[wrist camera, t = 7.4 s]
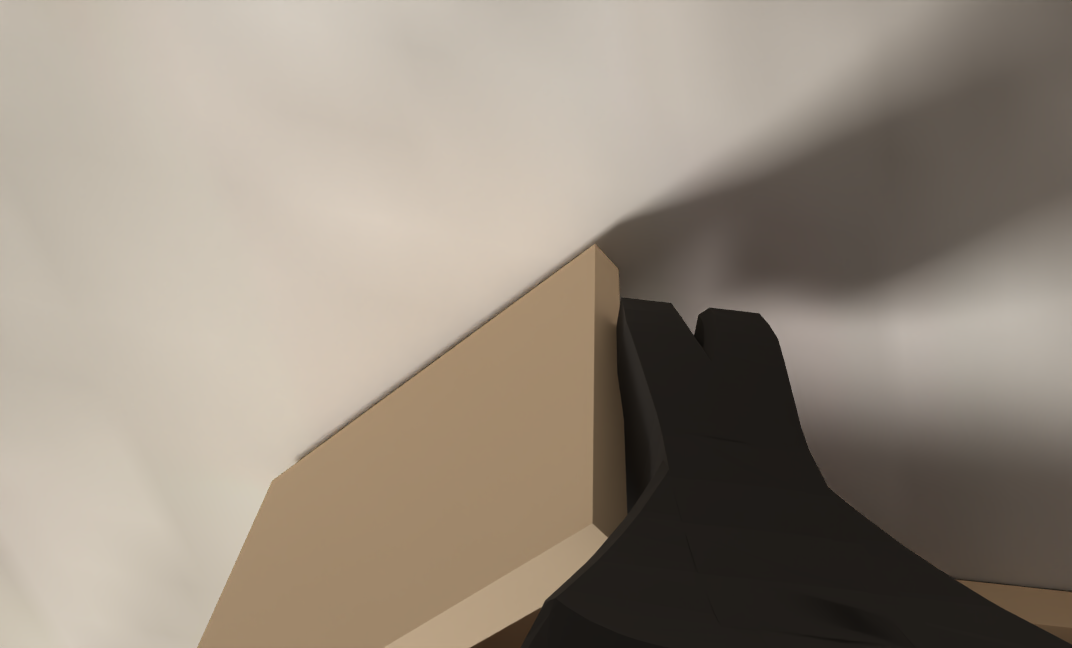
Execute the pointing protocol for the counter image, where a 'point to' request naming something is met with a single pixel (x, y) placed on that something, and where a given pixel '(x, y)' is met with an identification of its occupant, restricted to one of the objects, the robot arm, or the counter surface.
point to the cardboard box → (1041, 607)
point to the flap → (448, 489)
